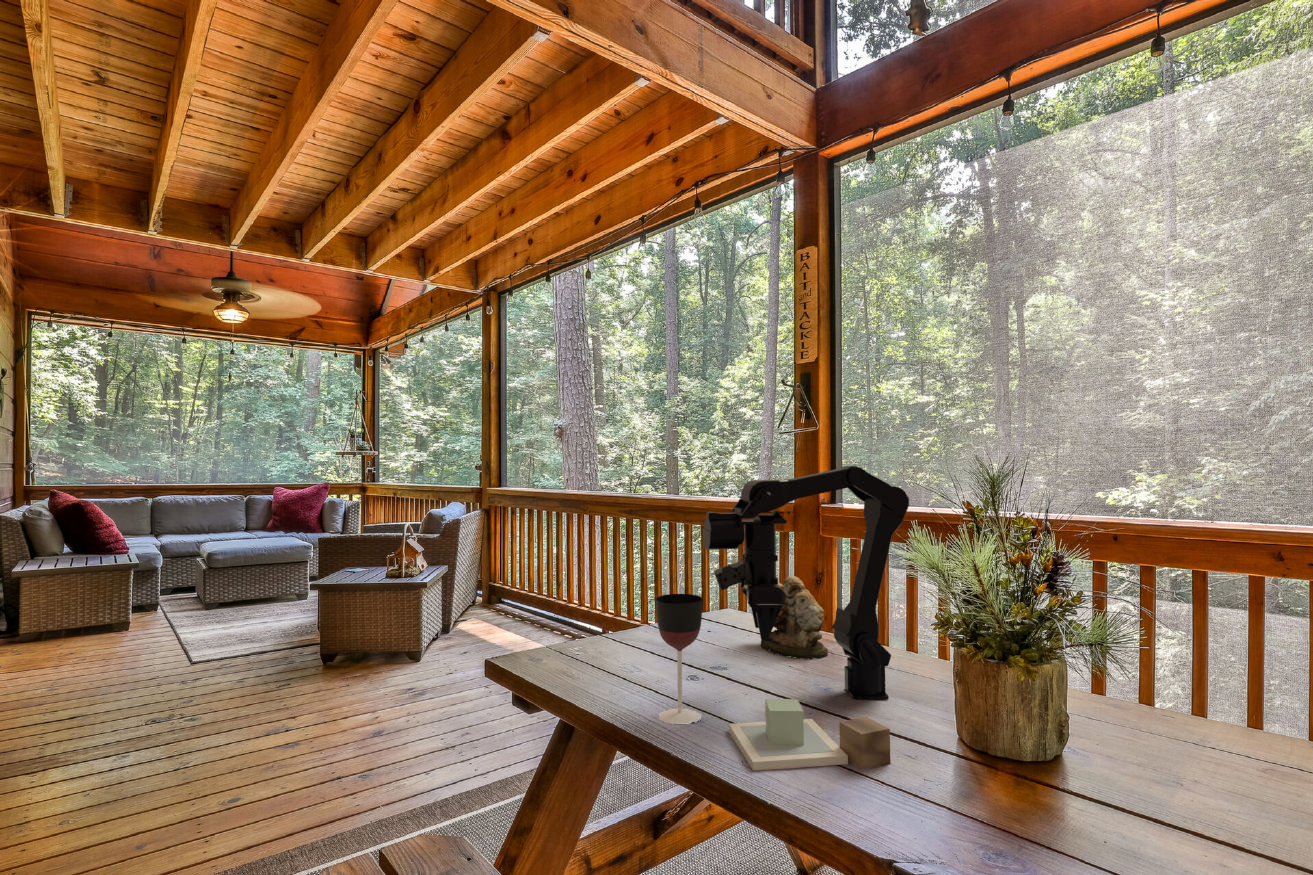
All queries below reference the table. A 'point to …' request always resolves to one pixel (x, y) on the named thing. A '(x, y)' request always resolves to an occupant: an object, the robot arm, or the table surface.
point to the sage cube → (784, 722)
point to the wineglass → (679, 639)
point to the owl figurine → (797, 624)
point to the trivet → (786, 748)
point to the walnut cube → (865, 742)
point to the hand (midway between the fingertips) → (761, 634)
